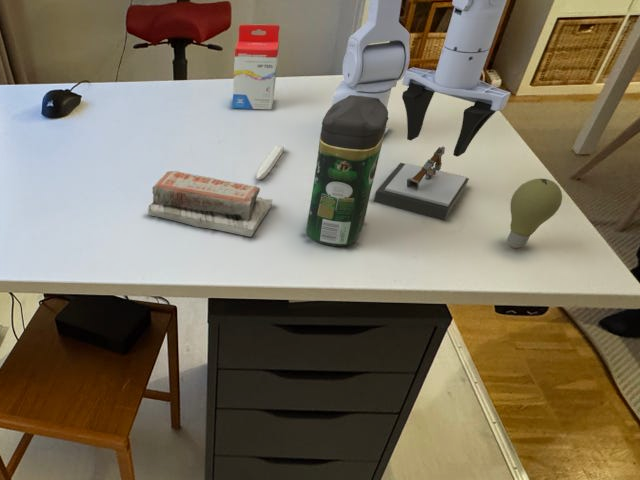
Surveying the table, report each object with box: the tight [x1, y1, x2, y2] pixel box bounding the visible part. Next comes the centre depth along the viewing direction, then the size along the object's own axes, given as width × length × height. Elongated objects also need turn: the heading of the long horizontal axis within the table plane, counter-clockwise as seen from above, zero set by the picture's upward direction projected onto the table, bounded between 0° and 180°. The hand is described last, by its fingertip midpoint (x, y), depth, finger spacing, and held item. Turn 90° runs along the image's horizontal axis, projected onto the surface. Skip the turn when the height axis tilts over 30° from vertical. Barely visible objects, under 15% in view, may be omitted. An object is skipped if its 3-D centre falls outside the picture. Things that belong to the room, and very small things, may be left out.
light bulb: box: [506, 177, 563, 249], centre depth 73 cm, size 6×6×10 cm
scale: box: [373, 162, 470, 221], centre depth 87 cm, size 11×11×2 cm
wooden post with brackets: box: [407, 146, 446, 191], centre depth 85 cm, size 2×8×4 cm, turn 131°
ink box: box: [232, 23, 280, 111], centre depth 111 cm, size 8×5×15 cm, turn 77°
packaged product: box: [147, 170, 273, 238], centre depth 86 cm, size 18×5×10 cm
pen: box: [255, 144, 285, 180], centre depth 96 cm, size 2×14×2 cm, turn 154°
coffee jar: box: [305, 95, 390, 247], centre depth 75 cm, size 10×8×19 cm
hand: (435, 145), depth 82 cm, fingers open, 7 cm apart
